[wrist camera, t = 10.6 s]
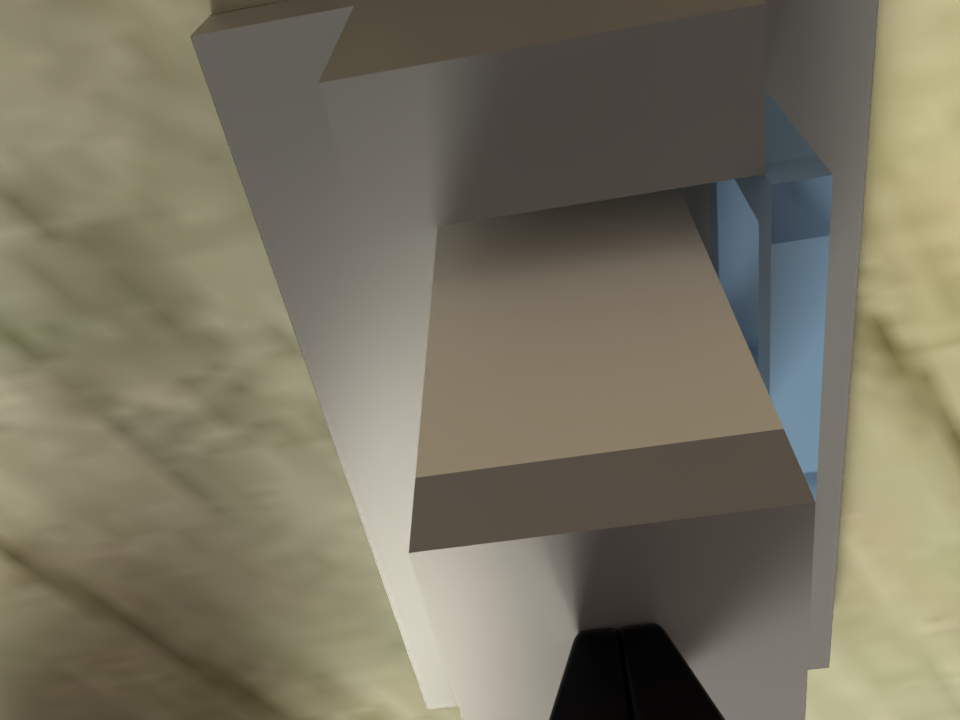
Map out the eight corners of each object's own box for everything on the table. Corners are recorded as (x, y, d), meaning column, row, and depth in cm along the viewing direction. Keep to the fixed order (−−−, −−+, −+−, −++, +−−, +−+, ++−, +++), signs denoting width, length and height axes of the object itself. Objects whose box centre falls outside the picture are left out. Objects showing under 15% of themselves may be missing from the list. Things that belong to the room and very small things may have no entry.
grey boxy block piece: (674, 335, 16) (803, 738, 10) (479, 363, 17) (479, 770, 10) (662, 149, 14) (815, 502, 8) (440, 186, 15) (408, 553, 8)
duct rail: (814, 627, 23) (886, 822, 19) (430, 668, 24) (419, 863, 20) (855, -107, 13) (1022, -34, 9) (210, 15, 14) (100, 129, 10)
